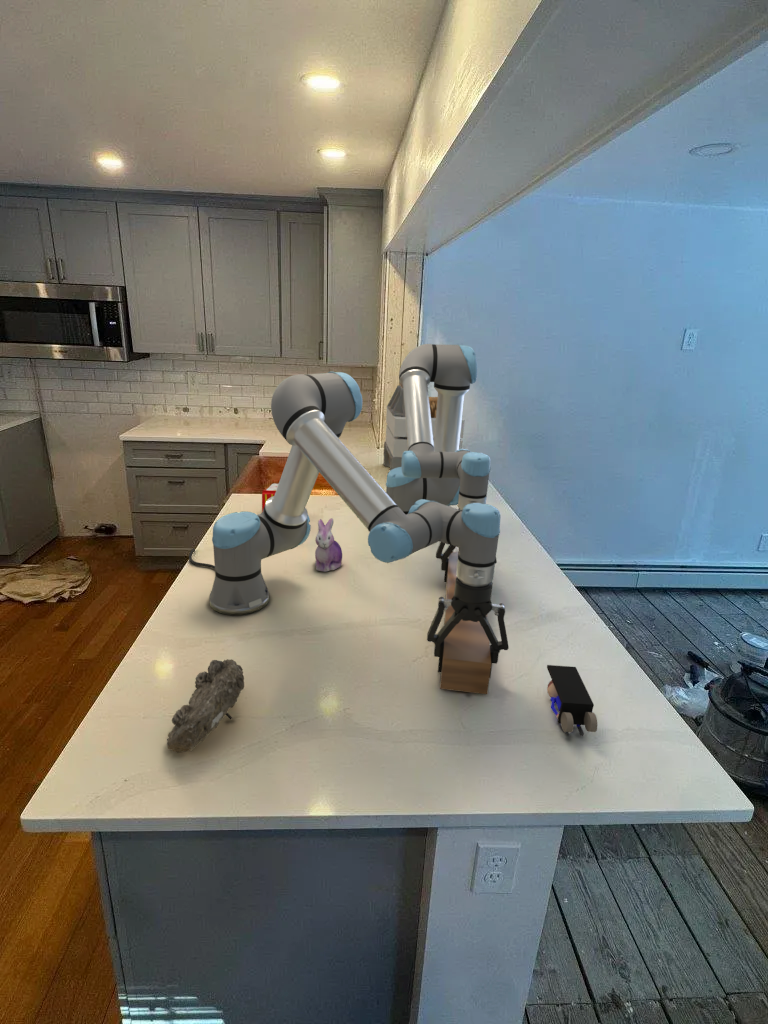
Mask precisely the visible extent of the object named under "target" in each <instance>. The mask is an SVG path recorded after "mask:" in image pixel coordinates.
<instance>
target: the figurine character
mask: <svg viewBox="0 0 768 1024" xmlns="http://www.w3.org/2000/svg"><path fill="white" fill-rule="evenodd" d="M546 669H547V671H548V674H549V677H550V678H551V680H550V681H549V682H548V684H547V687H546V690H547V694H548V696H549V700H550V702H551V703H550V709H551V711H552V712H553V714H554V715H555V717H556V718H557V721H556V722H557V724H559V725H560V726H561V730H562V732H564V734H565V735H566V736H567V737H569V736H570V733H572V732H573V731H574V727H575V726H576V728H577V731H578V734H579V736H581V737H584V735H585V733H584V729H583V728H582V726H584V728H585V730H586V732H588V733H596V732H597V730H598V718H597V715H596V713H595V712H593V709H594V705H595V704H594V702H593V700H592V697H591V696H590V694H589V692H588V689H587V688H586V685H585V683H584V681H583V679H582V677H581V674H580V673H579V671H578V669H577V667H576V666H568V665H554V664H547V665H546ZM555 705H556V707H557V708H556V707H555Z"/></svg>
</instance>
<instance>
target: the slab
mask: <svg viewBox="0 0 768 1024" xmlns="http://www.w3.org/2000/svg"><path fill="white" fill-rule="evenodd" d="M448 558H449V561H448V572H447V582H446V584H445V598H444V599H452V598H453V596H454V591H455V581H456V578H457V576H456V572H457V561H458V551H453V552H452V553H451V554H450V556H449V557H448ZM453 612H454V609H453V608H452V606H449V607H448V609H447V610H444V615H443V617H444V618H443V619H444V620H443V626H444V625H445V624H446V622H447V621H448V620H449V619H450V617H451V616H452V615H453ZM486 616H487V619H488V614H487V615H486ZM488 620H489V619H488ZM490 645H491V643H490V641H489V639H488V637H487V635H486V633H485V631H484V629H483V627H482V626H481V624H480V622H479V621H478V622H473V621H462V619H461V621H460V622H459V623H458V624H456V626H455V627H454V628H453V629H452V631H451V632H450V633H449V634H448V636H447V637H446V638H445V639H444V650H443V661H442V671H441V673H440V684H439V686H440V689H441V690H449V691H457V692H465V693H472V694H473V693H474V694H483V695H488V692H489V684H490V679H491V677H490V670H491V671H492V669H491V654H490Z"/></svg>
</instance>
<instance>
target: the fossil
mask: <svg viewBox="0 0 768 1024" xmlns="http://www.w3.org/2000/svg"><path fill="white" fill-rule="evenodd" d="M243 670H244V669H243V667H242V665H240V664H237V662H236V661H235V660H234V659H232V658H231V659H227V658H226V659H224V660H223V661H222V660H217V659H212V660H211V661H210V663H209V665H208V666H207V671H201V672H199V673H198V674H197V675H196V676H195V680H194V684H195V685H194V687H195V689H194V690H193V693H192V694H191V697H190V698H189V700H188V704H184V705H182V706H181V707H180V709H177V710H176V711H175V713H174V715H173V716H172V718H171V723H172V724H173V727H172V730H171V731H170V732H168V734H167V738H166V741H167V742H166V745H167V749H168V750H169V751H173V752H174V753H176V754H178V753H182V752H188V751H189V752H192V751H193V750H195V748H196V747H197V746H199V744H200V743H201V742H203V741H204V740H205V739H206V738H207V737H208V736H209V735H210V734H211V733H212V732H214V730H215V729H217V727H218V726H219V724H220V722H221V721H222V720H223V719H224V718H225V716H226V717H227V719H229V720H233V717H232V715H230V714H229V710H230V709H231V708H234V706H235V704H236V703H237V702H238V699H239V697H240V695H241V693H242V691H243V690H245V689H244V688H245V675H244V671H243Z"/></svg>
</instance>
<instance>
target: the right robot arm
mask: <svg viewBox="0 0 768 1024" xmlns="http://www.w3.org/2000/svg"><path fill="white" fill-rule="evenodd" d="M476 355H477V354H476V352H475V350H474V349H473V347H471V346H469V345H463V344H438V343H437V344H436V343H435V344H434V343H433V344H432V343H423V344H419V345H418V346H416V347H414V348H412V350H410V351H409V353H408V354H407V355H406V356H405V358H404V359H403V361H402V362H401V365H400V367H399V372H398V381H399V382H398V383H399V385H400V386H401V387H402V388H403V392H404V405H405V418H406V431H407V443H408V451H404V452H403V454H402V467H398V468H394V469H392V470H391V471H390V470H388V473H387V475H386V482H385V487H386V488H385V489H386V490H385V492H386V493H387V494H388V495H389V497H390V498H391V499H392V500H393V501H394V502H395V503H396V505H397V506H398V507H399V508H400V509H401V510H402V511H403V512H404V513H405V514H408V512H409V510H410V508H411V506H413V505H414V504H415V502H416V501H418V500H421V499H425V500H429V501H435V502H438V503H440V504H444V505H447V506H450V507H451V506H457V509H459V510H463V508H464V507H465V506H466V505H467V504H471V503H481V504H487V495H488V490H489V489H488V488H489V478H490V473H491V457H490V456H489V455H488V454H486V453H483V452H477V451H471V450H469V449H467V448H462V449H459V442H460V439H461V438H460V432H461V422H462V419H463V410H464V402H465V401H464V400H465V395H466V394H467V393H468V392H469V391H470V388H471V385H473V384H475V383H476V382H477V378H478V360H477V356H476ZM431 383H433V388H434V390H435V391H436V393H437V397H438V399H437V411H436V422H435V434H434V442H433V432H432V423H431V413H430V404H429V397H430V395H429V385H430V384H431ZM445 545H446V543H443V542H439V544H438V547H437V550H436V552H435V558H436V559H440V561H441V563H440V564H441V565H440V570H441V571H443V572H444V577H443V583H446V582H447V572H448V561H449V558H448V557H449V556H450V554H451V553H452V552H454V550H455V549H456V548H457V547H456V546H452V545H449V544H448V546H447V548H446V550H444V549H445ZM443 550H444V552H443ZM497 563H498V560H497V559H496V561H495V565H496V564H497Z"/></svg>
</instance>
